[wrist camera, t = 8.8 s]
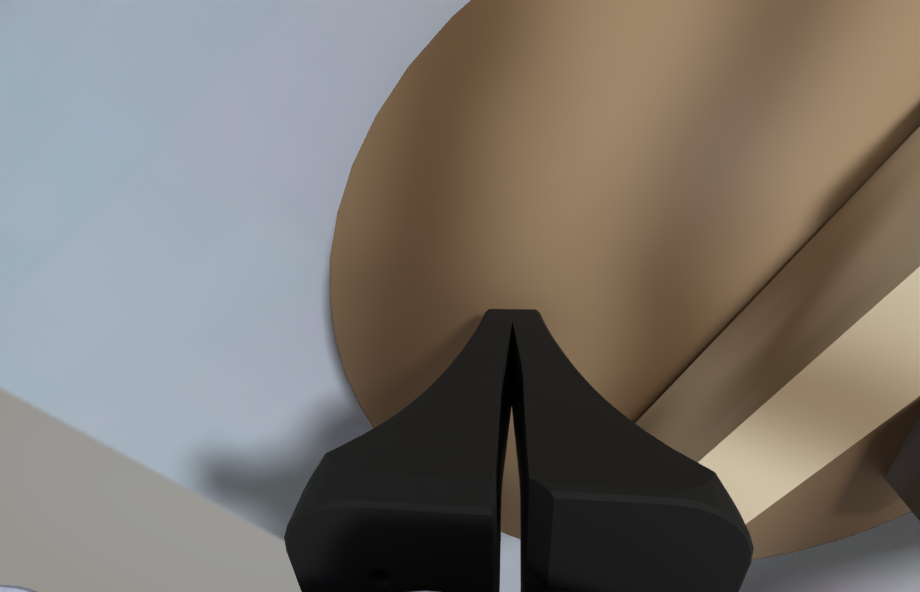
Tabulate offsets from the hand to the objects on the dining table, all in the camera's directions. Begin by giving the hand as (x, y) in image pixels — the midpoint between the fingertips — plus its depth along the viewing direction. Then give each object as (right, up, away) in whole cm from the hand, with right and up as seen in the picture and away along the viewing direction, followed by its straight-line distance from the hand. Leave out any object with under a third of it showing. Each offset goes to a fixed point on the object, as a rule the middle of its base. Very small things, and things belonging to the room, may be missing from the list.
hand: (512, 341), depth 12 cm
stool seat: (+5, +1, +3) cm, 6 cm away
